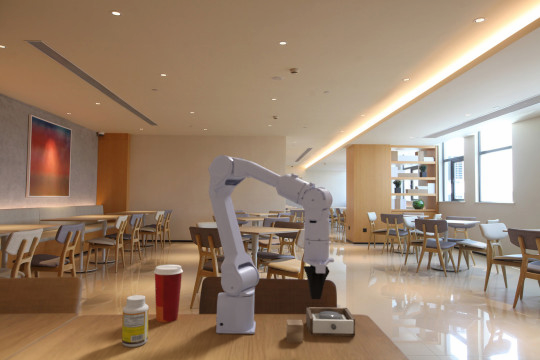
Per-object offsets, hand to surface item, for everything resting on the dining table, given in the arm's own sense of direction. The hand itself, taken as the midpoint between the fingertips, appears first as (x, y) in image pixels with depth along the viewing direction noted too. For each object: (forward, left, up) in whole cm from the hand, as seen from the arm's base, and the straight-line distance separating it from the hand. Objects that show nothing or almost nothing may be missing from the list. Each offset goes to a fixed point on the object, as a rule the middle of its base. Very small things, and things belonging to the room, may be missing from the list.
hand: (315, 298), depth 86 cm
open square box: (+5, +10, -10) cm, 15 cm away
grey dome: (+5, +10, -9) cm, 14 cm away
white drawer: (+5, +9, -9) cm, 14 cm away
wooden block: (-4, +3, -10) cm, 12 cm away
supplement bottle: (-41, -1, -11) cm, 42 cm away
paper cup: (-38, +15, -11) cm, 42 cm away
